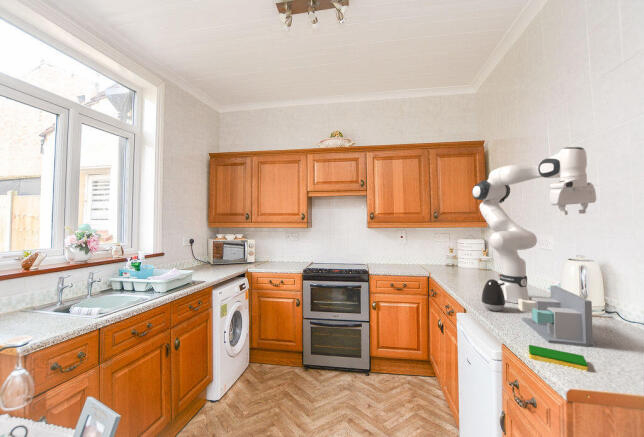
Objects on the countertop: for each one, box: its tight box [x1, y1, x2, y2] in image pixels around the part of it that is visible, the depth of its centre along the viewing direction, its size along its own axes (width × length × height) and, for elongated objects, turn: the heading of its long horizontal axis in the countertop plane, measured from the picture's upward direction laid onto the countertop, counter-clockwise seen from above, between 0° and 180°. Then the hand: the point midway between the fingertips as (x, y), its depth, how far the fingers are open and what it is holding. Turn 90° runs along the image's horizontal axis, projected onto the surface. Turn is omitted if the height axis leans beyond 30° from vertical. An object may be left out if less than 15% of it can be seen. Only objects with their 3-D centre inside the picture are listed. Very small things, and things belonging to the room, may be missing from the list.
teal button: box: [531, 308, 554, 324], centre depth 104 cm, size 8×4×4 cm, turn 73°
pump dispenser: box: [481, 278, 506, 312], centre depth 137 cm, size 10×10×15 cm
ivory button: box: [517, 299, 537, 313], centre depth 117 cm, size 8×4×4 cm, turn 73°
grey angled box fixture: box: [521, 285, 597, 348], centre depth 109 cm, size 14×24×16 cm, turn 163°
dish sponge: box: [528, 344, 589, 372], centre depth 88 cm, size 7×14×2 cm, turn 54°
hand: (573, 214), depth 122 cm, fingers open, 8 cm apart
